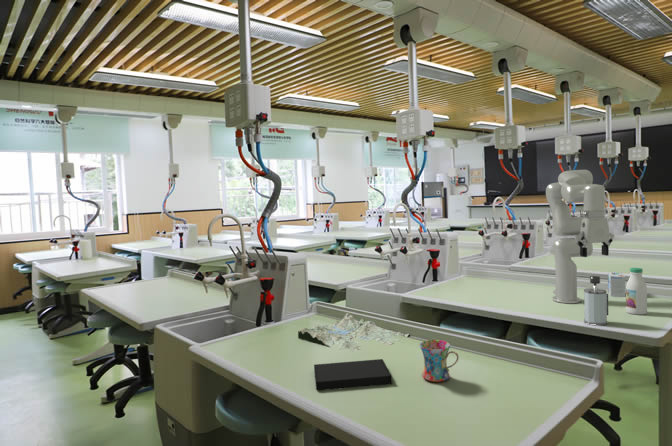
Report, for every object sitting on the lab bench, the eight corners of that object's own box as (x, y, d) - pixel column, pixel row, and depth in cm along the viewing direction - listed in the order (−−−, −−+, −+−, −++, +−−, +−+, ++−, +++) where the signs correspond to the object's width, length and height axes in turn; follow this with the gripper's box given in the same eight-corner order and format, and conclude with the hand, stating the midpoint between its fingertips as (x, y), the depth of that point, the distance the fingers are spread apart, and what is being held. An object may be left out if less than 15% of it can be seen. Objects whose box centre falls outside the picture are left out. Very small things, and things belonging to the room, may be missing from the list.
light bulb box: (607, 292, 234) (607, 272, 234) (622, 292, 231) (622, 272, 231) (610, 296, 225) (610, 275, 224) (625, 297, 222) (625, 276, 221)
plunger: (584, 311, 185) (584, 275, 184) (596, 310, 186) (596, 275, 185) (594, 315, 180) (593, 278, 179) (606, 314, 180) (606, 277, 179)
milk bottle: (643, 310, 196) (643, 266, 195) (649, 315, 189) (649, 269, 188) (623, 310, 199) (623, 266, 198) (629, 314, 192) (628, 269, 191)
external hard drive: (391, 385, 133) (391, 375, 133) (316, 391, 131) (315, 382, 131) (382, 367, 147) (382, 358, 147) (314, 373, 145) (313, 364, 145)
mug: (416, 380, 135) (414, 346, 134) (427, 370, 143) (426, 338, 142) (454, 388, 128) (452, 353, 128) (463, 376, 136) (462, 343, 135)
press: (579, 320, 187) (579, 288, 186) (599, 318, 188) (599, 287, 187) (593, 326, 178) (593, 293, 178) (614, 324, 180) (614, 291, 179)
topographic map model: (410, 337, 178) (409, 325, 177) (363, 359, 157) (362, 345, 156) (346, 322, 202) (345, 312, 202) (298, 339, 181) (297, 327, 181)
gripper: (581, 216, 176) (581, 258, 177) (620, 214, 178) (620, 255, 179) (568, 215, 183) (569, 256, 184) (606, 213, 185) (606, 253, 187)
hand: (594, 255), depth 182 cm, fingers open, 9 cm apart
